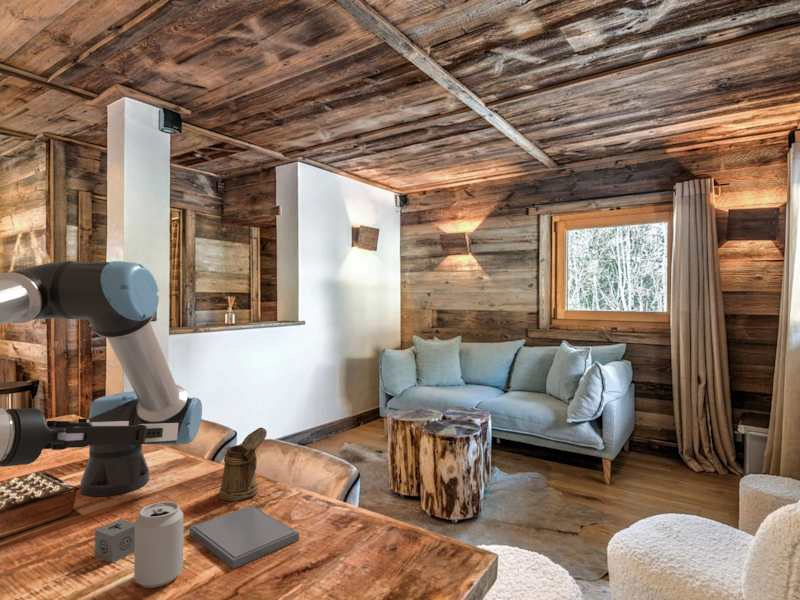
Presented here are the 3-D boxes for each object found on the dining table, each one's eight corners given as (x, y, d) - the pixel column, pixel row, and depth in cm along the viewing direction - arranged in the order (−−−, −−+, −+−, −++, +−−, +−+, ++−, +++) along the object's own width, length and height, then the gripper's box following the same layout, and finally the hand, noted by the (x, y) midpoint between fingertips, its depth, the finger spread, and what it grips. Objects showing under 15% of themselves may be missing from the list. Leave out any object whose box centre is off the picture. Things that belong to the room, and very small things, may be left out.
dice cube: (120, 544, 92) (120, 519, 92) (137, 550, 90) (138, 524, 90) (95, 557, 88) (95, 530, 88) (112, 563, 86) (112, 536, 86)
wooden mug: (242, 510, 107) (243, 431, 107) (212, 494, 116) (212, 421, 116) (275, 498, 114) (276, 423, 114) (244, 483, 123) (245, 414, 123)
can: (133, 595, 77) (133, 521, 77) (135, 571, 83) (135, 503, 83) (184, 583, 80) (184, 512, 80) (181, 561, 87) (182, 495, 87)
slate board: (189, 534, 96) (189, 526, 96) (251, 511, 107) (251, 504, 107) (233, 569, 84) (233, 559, 84) (298, 540, 95) (299, 531, 95)
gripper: (-45, 461, 68) (105, 449, 86) (44, 474, 56) (197, 457, 74) (-35, 407, 70) (111, 407, 88) (54, 409, 58) (201, 408, 76)
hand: (150, 430), depth 81 cm, fingers open, 13 cm apart
